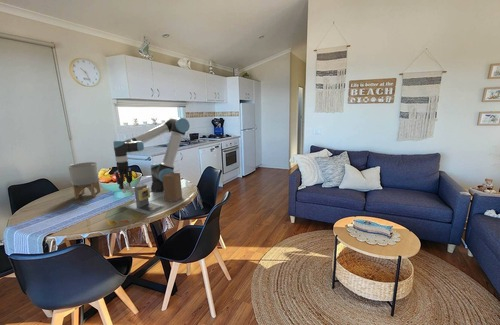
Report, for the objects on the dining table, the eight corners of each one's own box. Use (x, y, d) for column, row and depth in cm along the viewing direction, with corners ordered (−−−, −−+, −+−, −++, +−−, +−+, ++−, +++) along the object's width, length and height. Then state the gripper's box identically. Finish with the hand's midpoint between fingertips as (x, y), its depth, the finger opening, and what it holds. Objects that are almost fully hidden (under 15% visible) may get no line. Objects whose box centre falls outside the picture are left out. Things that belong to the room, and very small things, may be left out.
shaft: (146, 193, 172) (145, 187, 171) (140, 195, 168) (139, 189, 167) (125, 188, 184) (124, 182, 183) (119, 190, 180) (118, 184, 179)
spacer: (150, 197, 173) (149, 187, 171) (141, 200, 167) (139, 190, 165) (148, 196, 174) (147, 186, 172) (139, 200, 168) (137, 189, 166)
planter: (82, 200, 187) (75, 168, 182) (69, 196, 197) (63, 166, 191) (106, 193, 203) (101, 163, 197) (93, 189, 213) (88, 161, 207)
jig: (164, 206, 173) (162, 185, 169) (147, 214, 161) (144, 192, 157) (142, 201, 184) (140, 181, 181) (125, 207, 173) (122, 186, 169)
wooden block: (176, 201, 181) (174, 176, 177) (164, 201, 183) (161, 175, 179) (182, 197, 191) (180, 172, 186) (171, 196, 193) (168, 172, 188)
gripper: (128, 158, 183) (133, 188, 189) (108, 163, 170) (113, 194, 175) (135, 159, 180) (139, 189, 185) (114, 164, 166) (119, 196, 172)
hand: (126, 191), depth 180 cm, fingers closed on shaft, 3 cm apart
